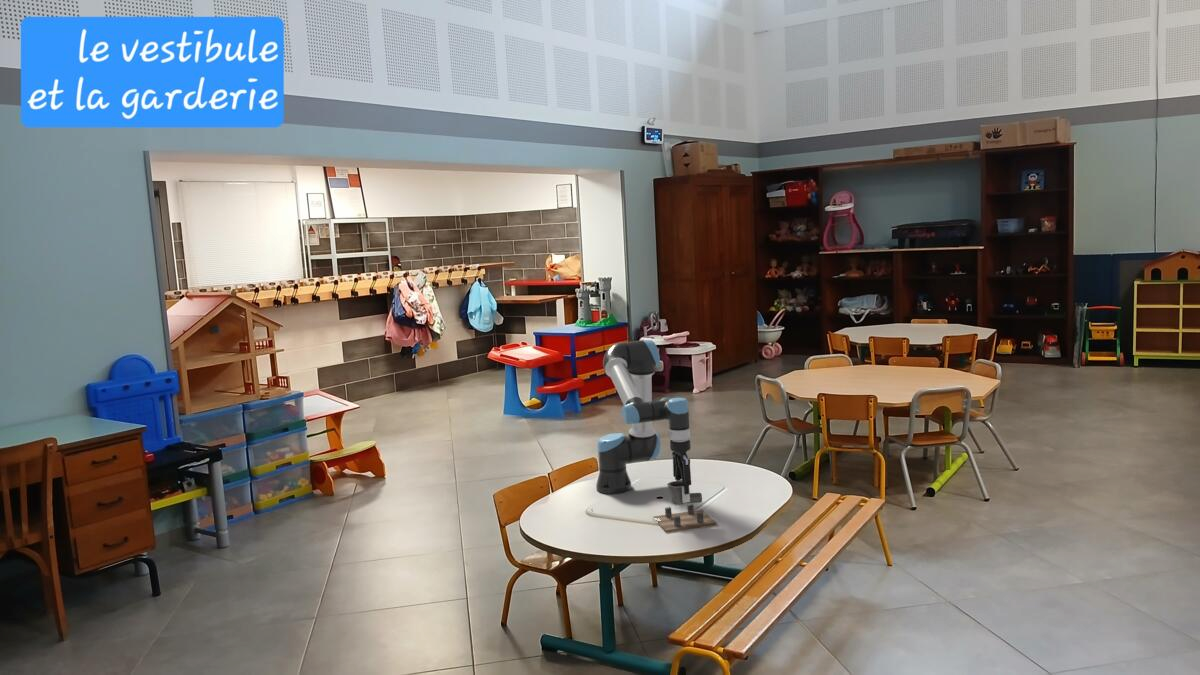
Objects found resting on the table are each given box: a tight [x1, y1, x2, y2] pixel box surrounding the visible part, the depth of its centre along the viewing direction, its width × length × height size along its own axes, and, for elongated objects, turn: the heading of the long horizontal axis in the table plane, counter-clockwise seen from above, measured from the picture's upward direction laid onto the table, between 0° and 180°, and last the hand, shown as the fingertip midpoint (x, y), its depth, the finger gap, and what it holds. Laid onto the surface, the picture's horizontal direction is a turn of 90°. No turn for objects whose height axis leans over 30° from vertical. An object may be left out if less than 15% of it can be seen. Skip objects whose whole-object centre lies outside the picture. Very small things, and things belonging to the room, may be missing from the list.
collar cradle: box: [652, 503, 718, 533], centre depth 325 cm, size 16×20×4 cm
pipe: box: [666, 480, 703, 506], centre depth 323 cm, size 6×13×8 cm, turn 81°
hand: (683, 499), depth 324 cm, fingers closed on pipe, 6 cm apart
